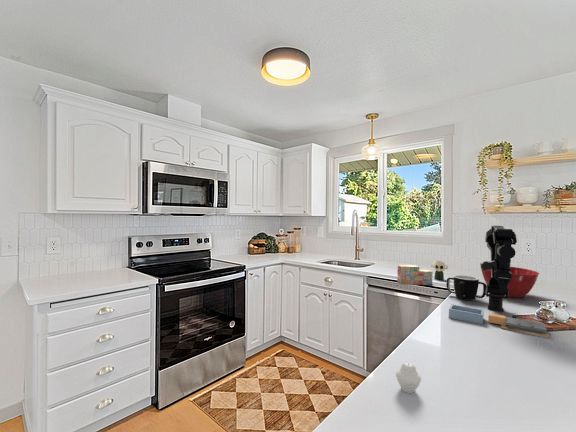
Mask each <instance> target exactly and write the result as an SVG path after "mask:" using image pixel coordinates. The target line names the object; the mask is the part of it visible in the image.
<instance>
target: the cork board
mask: <svg viewBox="0 0 576 432" xmlns="http://www.w3.org/2000/svg"><path fill="white" fill-rule="evenodd" d="M500 329H502V330H506V331H511V332H517V333H522V334H527V335H531V336H535V337H541V338H546V339H550V335H549V333H548V332H547V333H545V332H542V333H537V332H531V331H526V330H521V329H516V328H511V327H509V325H506V323H505V325H501V324H500Z"/></svg>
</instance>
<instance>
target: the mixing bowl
mask: <svg viewBox="0 0 576 432" xmlns="http://www.w3.org/2000/svg"><path fill="white" fill-rule="evenodd" d="M510 269H511V271H510V272H511V273H512V279H511V280H510V282H509V284H508V286H507V288H508V290H509V293H508V298H512V299H513V298H514V299H516V298H517V299H520V298H522V297H526V296H527V295H528V294H529V293H530V292H531V290H532V289H533V288H534V286H535V284H536V282H537V279H538V277H539V275H540V272H538V271H536V270H533V269H527V268H523V267H516V266H510ZM480 270H481V273H482V278H483V280H484V283H485V284H486V286H487V285H488V282H489V280H490V279H491V269H488V270H485V271H483V270H482V268H481V265H480Z"/></svg>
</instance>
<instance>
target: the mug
mask: <svg viewBox="0 0 576 432" xmlns="http://www.w3.org/2000/svg"><path fill="white" fill-rule="evenodd" d="M450 280H451V281H453V290H452V289H451V287H450V286H451V285H450V283H451V281H450ZM479 285H482V286H483V287H482V294H481V295H479V294H478V291H479V290H478V289H479ZM486 286H487V284H486V282H482V281H479V278H478V277H475V276H471V275H464V274H462V275H461V274H457V275H454V276H453V277H448V278H446V290H447V291H448V292H449V293H451V294H454V295H455V297H456V298H458V299H460V300H463V301H475V300H476V298H477V299H483V298H484V297H486Z"/></svg>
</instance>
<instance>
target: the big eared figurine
mask: <svg viewBox="0 0 576 432" xmlns="http://www.w3.org/2000/svg"><path fill="white" fill-rule="evenodd" d="M430 264H431V265H430V266H431V267H430V268H432V269H434V278H433V279H435V280H438V279H439V280H444V279H445V277H444V274H445V273H444V271H445V270H449V265H448V264H446V262H445V261H441V260H434V261H433V262H432V263H430Z"/></svg>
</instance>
